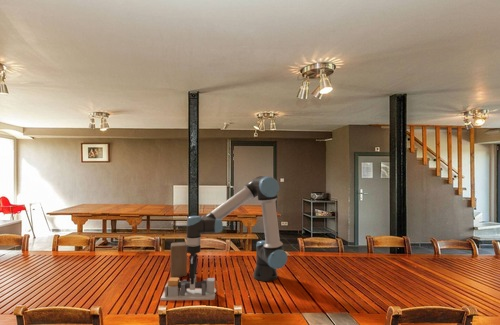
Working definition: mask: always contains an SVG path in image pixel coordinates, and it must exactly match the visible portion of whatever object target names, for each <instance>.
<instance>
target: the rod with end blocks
mask: <svg viewBox="0 0 500 325" xmlns="http://www.w3.org/2000/svg"><path fill="white" fill-rule="evenodd" d="M206 280H207V282H203V281H196V282H195V289H202V283H206V288H207V291H206V292H210V293H214V290H215V289H216V288H215V287H216V286H215V284H216V278H215V277H207V279H206ZM179 281H180V277H169V279H168V280H167V283H168V287H169V286H178V290H179V288H181V284H185V288H187V289H190V281H187V282H183V281H181V282H179Z"/></svg>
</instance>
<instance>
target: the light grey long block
mask: <svg viewBox="0 0 500 325" xmlns="http://www.w3.org/2000/svg"><path fill="white" fill-rule="evenodd" d="M179 282H188V280H187V279H183V280H179ZM202 282H207V279H202ZM206 291H207V288H206V283H202V288H195V290H190V288H185V284H181V288H179V290H178V286H169V287H168V282H166V284H165V286H164V291H163V293H162V295H161V297H160V301H206V300H207V301H210V300H211V301H212V300H214V301H215V300H216V294H215V293H217V288H215V290H214V293H210V292H206Z"/></svg>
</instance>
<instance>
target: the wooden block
mask: <svg viewBox="0 0 500 325" xmlns="http://www.w3.org/2000/svg"><path fill="white" fill-rule="evenodd" d="M186 249H187V241H181V242H179V241H178V242H172V243H170V278H182V277H183V276H184V277H186V276H187V275H188V274H187V273H188V253H187V251H186ZM184 277H183V278H184Z"/></svg>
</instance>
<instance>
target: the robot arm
mask: <svg viewBox="0 0 500 325" xmlns="http://www.w3.org/2000/svg"><path fill="white" fill-rule="evenodd" d="M279 191H280V184H279V182H278V180H277V179H276V178H275V177H272V176H267V175H264V176H263V175H259V176H256V177H254V178H253V179H252V180H250V181H249V182H248V183H246V184H244V185H243V188H242V189H241V190H240V191H238V192H236V193H235V194H234V195H232V196H231V197H230V198H228V199H226V200H225V201H224V202H223V203H222V204H220V205H218V206H217V207H216V208H215V209H213V210H211V211H210V212H209V213H208V214H204V215H201V216H200V215H190V216H187V219H186V220H187V221H186V238H185V241H186V244H187V249H186V251H187V254H190V255H189V257H188V262H189V263H188V264H189V271H188V272H189V274H188V275H189V276H188V279H189V282H190V288H189V289H190V290H195V289H196V288H195V282H197V275H198V270H197V269H198V264H197V263H198V254H200V252H201V243H202V242H201V241H202V240H201V238H202V237H201V236H202V234H214V233H215V234H217V233H222V232H223V227H224V226H223V225H224V223H223V221H222V220H224V218H226V217H227V216H228V215H230V214H231V213H232V212H234V211H235V210H237V209H239V208H240V207H241V206H242V205H244V204H245V203H246V202H248V201H249V200H250V199H254V198H255V197H256V198H257V200H258V202H259V203H260V206H261V213H262V222H263V232H264V238H265V240H259V241H256V246H255V247H256V251H255V252H256V253H255V254H256V259H255V262H256V263H255V264H256V265H255V269H254V271H253V279H254V280H257V281H259V282H260V281H261V282H272V281H275V280H277V279H278V271H277V270H279V269H282V268H283V267H285V265H286V264H287V261H288V255H287V252H286V251H285V250H284V243H283V241H281V238H280V230H279V222H278V221H279V220H278V213H277V203H276V202H277V200H278V193H279Z"/></svg>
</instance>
